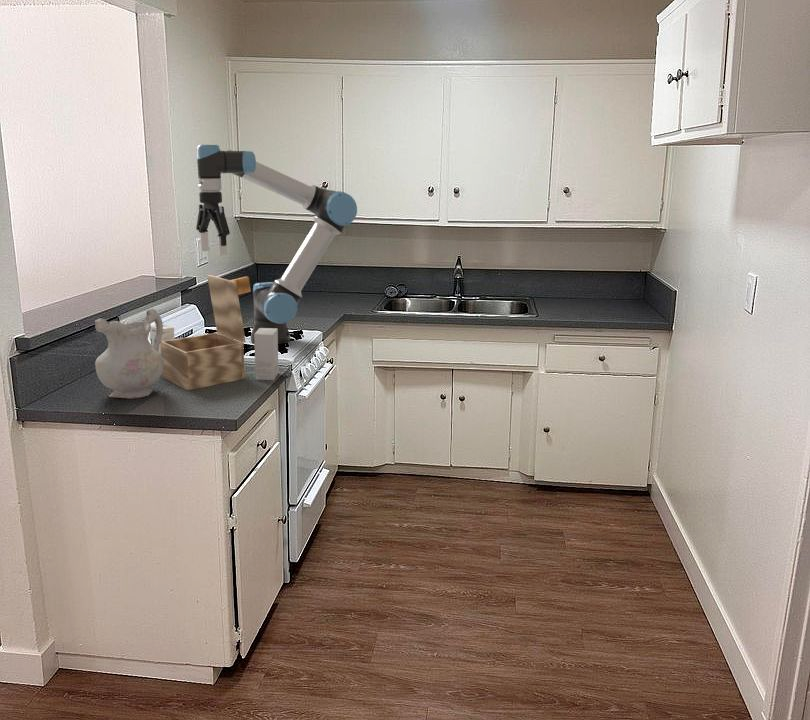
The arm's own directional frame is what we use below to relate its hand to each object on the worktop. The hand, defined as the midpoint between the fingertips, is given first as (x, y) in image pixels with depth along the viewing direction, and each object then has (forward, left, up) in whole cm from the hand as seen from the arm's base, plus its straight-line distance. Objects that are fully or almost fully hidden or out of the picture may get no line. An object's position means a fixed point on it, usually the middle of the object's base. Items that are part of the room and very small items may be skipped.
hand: (213, 253), depth 266 cm
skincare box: (+1, +36, -37) cm, 51 cm away
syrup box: (+23, +5, -37) cm, 44 cm away
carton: (+18, +24, -37) cm, 47 cm away
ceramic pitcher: (+41, +25, -37) cm, 61 cm away
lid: (+9, +24, -15) cm, 30 cm away
